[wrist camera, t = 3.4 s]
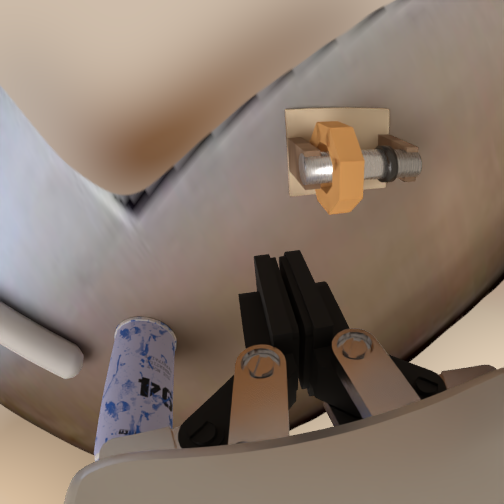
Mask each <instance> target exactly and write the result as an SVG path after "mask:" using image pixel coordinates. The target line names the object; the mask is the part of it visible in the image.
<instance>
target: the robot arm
mask: <svg viewBox="0 0 504 504" xmlns="http://www.w3.org/2000/svg"><path fill="white" fill-rule="evenodd" d="M254 264H255V274H256V285H257V292H251V293H243V294H238V295H239V302H240V310H241V317H242V325H243V332H244V339H245V346H246V349H245V350H243V351H242V352H241V353H240V354H239V356H238V357H237V359H236V363H235V371H234V375H233V376H232V377H231V378H230V379H229V380H228V381H227V382H226V383H225V384H224V385H223V386H222V387H221V388H220V389H219V390H218V391H217V392H216V393H215V394H214V395H213V396H211V397H210V398H209V399H208V400H207V401H206V402H205V403H204V404H203V405H202V406H201V407H200V408H199V409H198V410H196V411H195V412H194V413H193V414H192V415H191V416H190V417H189V418H188V419H187V420H185V422H184V423H183V424H182V425H181V426H180V427H176V428H172V429H171V428H170V427H169V426H168V427H164V428H160V429H156V430H151V431H147V432H142V433H138V434H133V435H128V436H123V437H117V438H113V439H111V440H108V441H107V442H106V443H104V444H103V445H102V447H101V449H100V452H99V460H98V461H96V462H93V463H91V464H89V465H88V466H85V467H84V468H83V469H81V470H79V471H78V472H77V473H76V475H75V476H74V477H73V479H72V481H71V483H70V485H69V488H68V490H67V494H66V497H65V502H64V504H504V368H500V369H496V368H494V367H493V366H490V365H479V366H474V367H468V368H461V369H455V370H448V371H442V372H441V374H439V375H438V374H437V373H435V372H433V371H431V370H428V369H425V368H422V367H420V366H417V365H414V364H411V363H409V362H406V361H404V360H401V359H398V358H396V357H393V356H391V355H388V354H387V353H386V351H385V350H384V349H383V347H382V346H381V345H380V343H379V342H378V341H377V339H376V338H375V337H374V336H373V335H372V334H371V333H369V332H367V331H365V330H362V329H356V328H349V326H348V324H347V322H346V320H345V318H344V316H343V314H342V312H341V310H340V308H339V306H338V304H337V302H336V300H335V298H334V296H333V294H332V292H331V290H330V288H329V286H328V284H327V283H326V282H325V281H324V282H318V283H315V282H314V280H313V277H312V275H311V273H310V271H309V269H308V267H307V264H306V262H305V260H304V258H303V256H302V254H301V252H300V250H296V251H289V252H285V253H284V256H281V257H279V267H280V270H279V267H278V264H277V261H276V258H275V257H274V258H270V256H269V254H267V255H259V256H254ZM298 378H299V381H300V385H301V388H302V389H305V388H307V390H308V394H309V396H315V397H316V398H318V399H320V400H322V401H323V405H324V408H325V410H326V412H327V414H328V416H329V418H330V419H331V422H332V423H333V425H334V427H330V428H326V429H322V430H317V431H312V432H308V433H303V434H298V435H293V436H289V415H288V410H289V409H290V408H291V406H292V405H293V404H294V403H295V401H296V390H298Z"/></svg>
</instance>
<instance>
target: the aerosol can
mask: <svg viewBox="0 0 504 504" xmlns="http://www.w3.org/2000/svg"><path fill="white" fill-rule="evenodd" d="M114 337H115V341H114V346H113V350H112V354H111V359H110V364H109V368H108V373H107V378H106V383H105V388H104V393H103V398H102V404H101V410H100V416H99V422H98V428H97V435H96V442H95V449H94V455H95V462H96V461H98V460H99V452H100V449H101V447H102V445H103V444H104V443H106V442H107V441H108V440H111V439H113V438H117V437H123V436H128V435H133V434H138V433H142V432H147V431H151V430H156V429H160V428H164V427H168V426H169V427H170V428H171V429H172V424H173V379H174V355H175V350H176V345H177V339H176V337H175V334H174V332H173V331H172V330H171V329H170V328H169V327H168V326H167V325H165V324H164V323H162V322H160V321H158V320H155V319H152V318H149V317H133V318H128V319H126V320H124V321H122V322H121V323H120V324H119V325H118V326H117V328H116V331H115V335H114Z"/></svg>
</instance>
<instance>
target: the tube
mask: <svg viewBox="0 0 504 504" xmlns="http://www.w3.org/2000/svg"><path fill="white" fill-rule="evenodd" d="M0 344H2V345H3V346H5V347H6V348H8V349H10V350H12V351H13V352H15V353H17V354H18V355H20V356H22V357H24V358H25V359H27V360H29V361H31V362H33V363H35V364H36V365H38V366H40V367H42V368H44V369H46V370H48V371H50V372H52V373H54V374H56V375H58V376H60V377H62V378H64V379H67V378H72V377H74V376H75V375H77V374H78V373H79V371H80V370H81V368H82V366H83V359H84V355H83V354H82V352H81V350H80V349H79V347H78V346H77V345H76V344H74V343H72V342H70V341H68V340H66V339H64V338H62V337H61V336H59V335H57V334H55V333H53V332H51V331H50V330H48V329H46V328H44V327H42V326H41V325H39V324H37V323H35V322H34V321H32V320H30V319H29V318H27V317H25V316H24V315H22V314H20V313H19V312H17V311H16V310H14V309H12V308H11V307H9V306H8V305H6V304H5V303H3V302H1V301H0Z"/></svg>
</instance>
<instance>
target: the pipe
mask: <svg viewBox="0 0 504 504" xmlns="http://www.w3.org/2000/svg"><path fill="white" fill-rule="evenodd" d="M361 151H362V154H363V157H364V160H365V164H364V180H371V179H378V180H379V181H380V182H392V181H394V180H395V179H396V178H403V177H417V176H418V175H419V174H420V172H421V169H422V161H421V157H420V155H419V153H418V152H406V151H405V150H404V149H393V148H392V147H391V146H388V145H385V146H377V147H376V148H375V149H371V150H361ZM299 173H300V177H301V181H302V183H303V184H304V185H311V184H322V183H332V161H331V158H330V155H329V151H327V152H320V156H310V157H304V155H303V154H302V153H301V154H300V156H299Z"/></svg>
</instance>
